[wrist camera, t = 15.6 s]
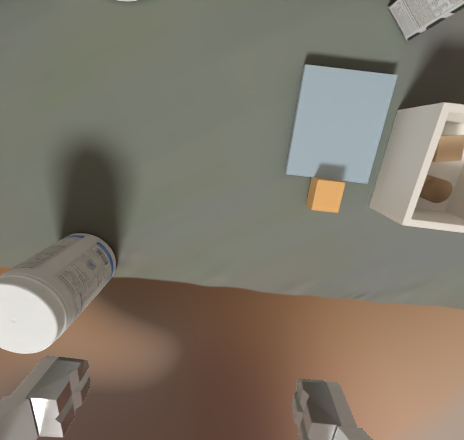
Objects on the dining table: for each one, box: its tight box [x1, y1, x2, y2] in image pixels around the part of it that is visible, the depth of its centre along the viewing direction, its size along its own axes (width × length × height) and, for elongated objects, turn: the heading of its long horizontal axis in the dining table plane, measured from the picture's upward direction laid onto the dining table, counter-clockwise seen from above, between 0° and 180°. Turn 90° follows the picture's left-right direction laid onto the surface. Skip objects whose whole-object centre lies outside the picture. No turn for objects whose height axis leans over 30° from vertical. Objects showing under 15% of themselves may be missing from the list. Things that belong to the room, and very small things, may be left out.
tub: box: [369, 102, 464, 233], centre depth 31 cm, size 13×11×8 cm
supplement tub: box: [0, 233, 116, 354], centre depth 34 cm, size 10×10×15 cm
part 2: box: [419, 175, 453, 203], centre depth 34 cm, size 3×3×3 cm
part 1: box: [432, 135, 464, 162], centre depth 32 cm, size 3×3×3 cm
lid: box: [285, 64, 398, 213], centre depth 33 cm, size 17×11×4 cm, turn 174°
